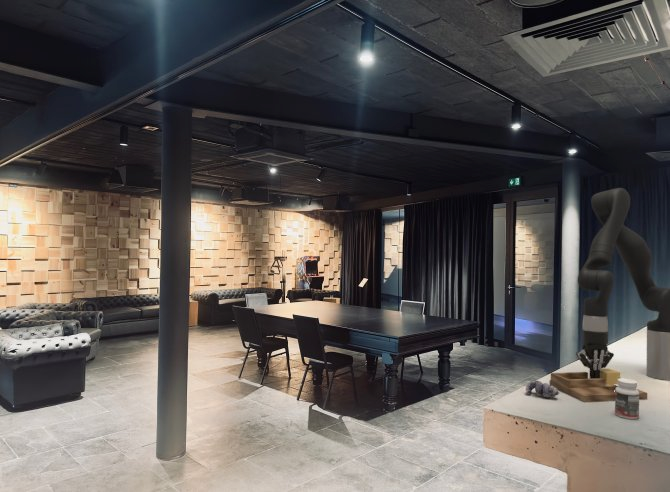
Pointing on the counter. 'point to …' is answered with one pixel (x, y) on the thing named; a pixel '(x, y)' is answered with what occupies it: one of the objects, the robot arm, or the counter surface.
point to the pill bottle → (627, 399)
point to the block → (610, 376)
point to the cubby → (576, 380)
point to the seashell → (542, 389)
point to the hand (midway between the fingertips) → (594, 380)
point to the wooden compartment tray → (593, 393)
